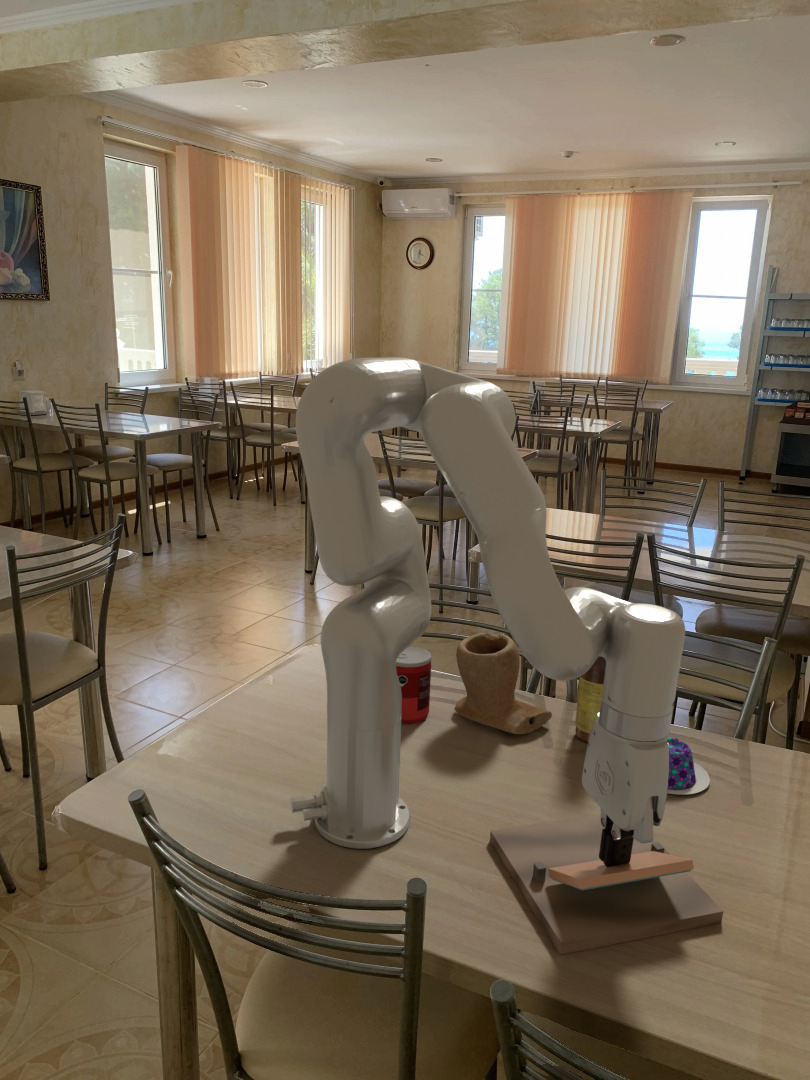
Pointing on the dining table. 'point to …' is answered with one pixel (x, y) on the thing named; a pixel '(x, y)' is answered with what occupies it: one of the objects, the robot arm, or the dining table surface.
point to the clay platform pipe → (494, 685)
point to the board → (601, 910)
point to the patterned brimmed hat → (684, 770)
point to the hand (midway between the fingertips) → (614, 860)
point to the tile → (620, 870)
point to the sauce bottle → (589, 698)
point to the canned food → (414, 683)
